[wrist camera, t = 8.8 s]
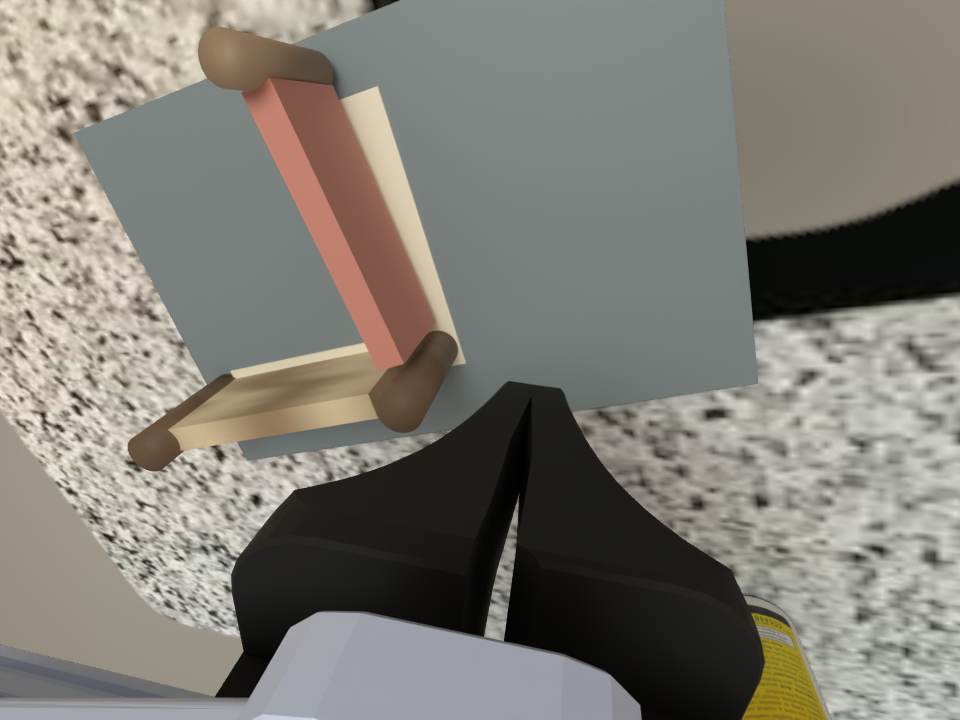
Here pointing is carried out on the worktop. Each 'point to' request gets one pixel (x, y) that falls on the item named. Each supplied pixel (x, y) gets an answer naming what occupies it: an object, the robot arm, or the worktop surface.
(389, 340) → the gate panel
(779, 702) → the supplement bottle
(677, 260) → the card
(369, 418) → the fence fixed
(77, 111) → the worktop surface
